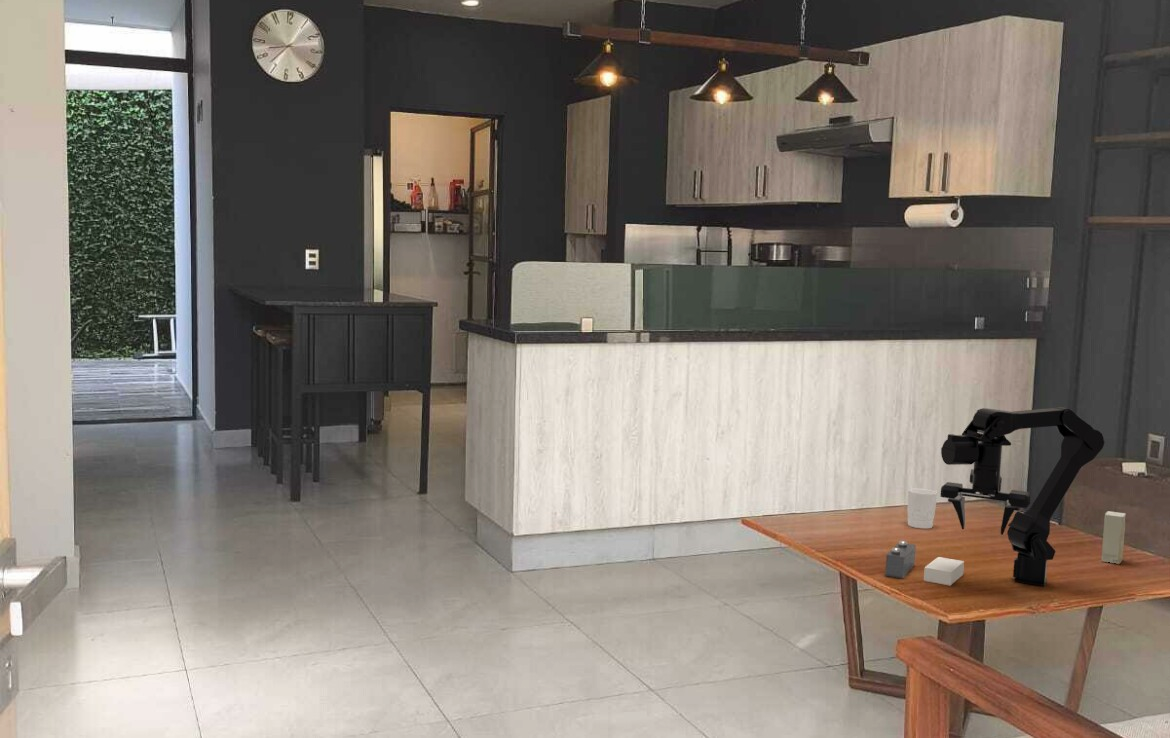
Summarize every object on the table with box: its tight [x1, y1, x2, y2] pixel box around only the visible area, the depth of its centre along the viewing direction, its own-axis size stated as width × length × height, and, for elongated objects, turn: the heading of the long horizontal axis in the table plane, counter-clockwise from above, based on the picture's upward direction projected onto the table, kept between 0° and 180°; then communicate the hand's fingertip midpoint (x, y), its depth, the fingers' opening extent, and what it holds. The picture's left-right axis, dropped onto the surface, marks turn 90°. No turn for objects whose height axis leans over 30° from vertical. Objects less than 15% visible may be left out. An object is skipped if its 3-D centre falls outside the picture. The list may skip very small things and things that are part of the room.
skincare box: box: [1100, 510, 1127, 565], centre depth 276 cm, size 6×4×12 cm
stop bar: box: [884, 540, 917, 579], centre depth 259 cm, size 4×14×6 cm, turn 152°
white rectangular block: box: [923, 556, 965, 586], centre depth 254 cm, size 6×12×4 cm, turn 147°
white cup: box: [906, 487, 938, 530], centre depth 307 cm, size 8×8×10 cm
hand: (982, 531), depth 250 cm, fingers open, 8 cm apart
